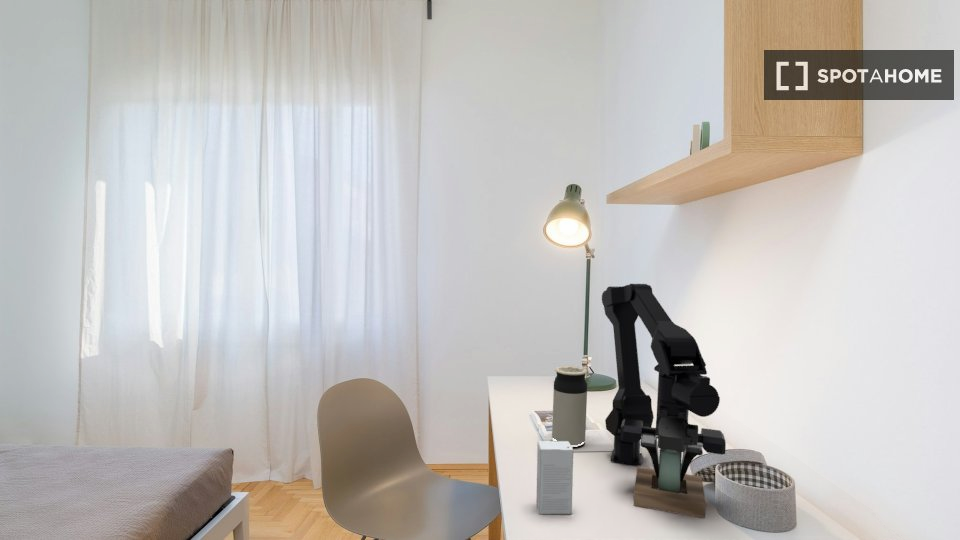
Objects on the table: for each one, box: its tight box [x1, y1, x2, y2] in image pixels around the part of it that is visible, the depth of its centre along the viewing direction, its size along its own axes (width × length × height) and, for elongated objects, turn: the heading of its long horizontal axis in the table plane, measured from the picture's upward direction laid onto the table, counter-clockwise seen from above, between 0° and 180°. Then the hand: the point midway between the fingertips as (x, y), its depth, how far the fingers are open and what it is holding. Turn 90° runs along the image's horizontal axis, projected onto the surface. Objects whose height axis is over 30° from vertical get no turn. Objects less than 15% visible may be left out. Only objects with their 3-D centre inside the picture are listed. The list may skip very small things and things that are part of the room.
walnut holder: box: [633, 466, 707, 519], centre depth 106 cm, size 12×12×2 cm
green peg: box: [657, 448, 683, 493], centre depth 106 cm, size 4×4×8 cm
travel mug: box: [551, 365, 588, 445], centre depth 133 cm, size 8×8×18 cm
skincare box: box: [535, 440, 574, 515], centre depth 100 cm, size 6×4×12 cm
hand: (669, 479), depth 106 cm, fingers closed on green peg, 4 cm apart
